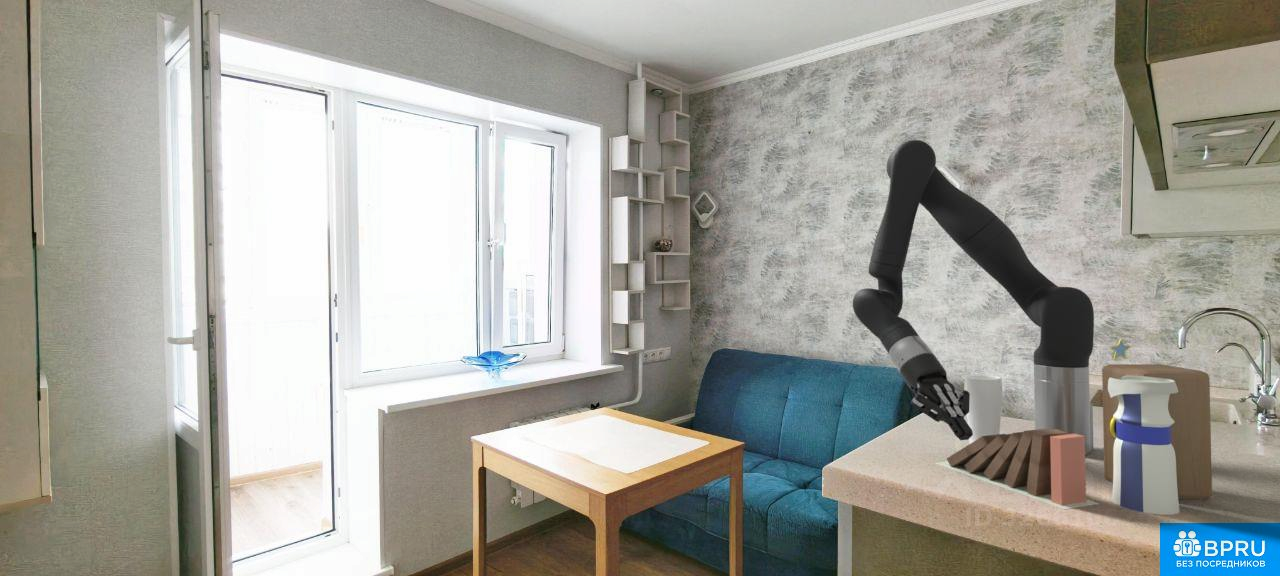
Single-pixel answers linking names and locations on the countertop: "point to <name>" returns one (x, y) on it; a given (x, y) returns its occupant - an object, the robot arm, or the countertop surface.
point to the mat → (1019, 489)
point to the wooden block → (1185, 432)
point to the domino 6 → (1068, 469)
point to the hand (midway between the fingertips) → (967, 437)
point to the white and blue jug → (1143, 443)
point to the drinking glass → (984, 405)
